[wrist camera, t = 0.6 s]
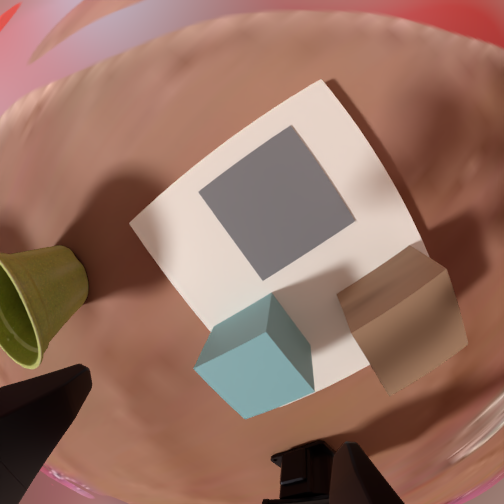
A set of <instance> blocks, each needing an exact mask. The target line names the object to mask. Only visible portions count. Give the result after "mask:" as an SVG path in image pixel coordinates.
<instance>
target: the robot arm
mask: <svg viewBox="0 0 504 504" xmlns="http://www.w3.org/2000/svg"><path fill="white" fill-rule="evenodd" d="M91 388H92V380H91V374H90V370H89V368H88V367H86V366H84V365H82V364H76V365H73V366H70V367H67V368H64V369H61V370H58V371H54V372H51V373H48V374H45V375H41V376H38V377H35V378H31V379H28V380H24V381H21V382H17V383H14V384H10V385H7V386H3V387H1V388H0V504H19V502H20V500H21V499H22V497H23V496H24V494H25V492H26V491H27V489H28V487H29V486H30V484H31V483H32V481H33V479H34V478H35V476H36V475H37V473H38V472H39V470H40V469H41V467H42V466H43V464H44V463H45V461H46V460H47V458H48V457H49V455H50V454H51V452H52V451H53V449H54V448H55V447H56V445H57V444H58V442H59V441H60V439H61V438H62V436H63V435H64V434H65V432H66V431H67V429H68V428H69V426H70V425H71V424H72V422H73V421H74V419H75V418H76V416H77V414H78V412H79V410H80V408H81V407H82V405H83V403H84V401H85V399H86V398H87V396H88V394H89V392H90V390H91ZM271 461H272V462H273V463H275V464H276V465H278V466H279V467H280V468H281V475H280V484H281V486H280V497H279V498H280V499H274V500H269V499H263V502H262V504H404V502H403V501H402V500H401V499H400V497H399V496H398V495H397V494H396V492H395V491H394V490H393V489H392V487H391V486H390V485H389V483H388V482H387V481H386V480H385V478H384V477H383V476H382V474H381V473H380V472H379V471H378V469H377V468H376V467H375V465H374V464H373V463H372V462H371V460H370V459H369V458H368V456H367V455H366V454H365V452H364V451H363V450H362V448H361V447H360V446H359V445H358V443H356V442H345V443H343V445H342V446H341V447H340V448H339V450H338V451H337V452H335V451H334V450H333V449H332V448H331V447H329V446H328V445H327V444H326V443H325V442H324V441H317V442H314V443H312V444H309V445H306V446H303V447H300V448H297V449H294V450H290V451H287V452H284V453H280V454H277V455H273V456H271Z"/></svg>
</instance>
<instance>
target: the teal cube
mask: <svg viewBox="0 0 504 504" xmlns="http://www.w3.org/2000/svg"><path fill="white" fill-rule="evenodd" d="M193 369H194V370H195V371H196V372H197V373H198V374H199V375H200V376H201V377H202V378H203V379H204V380H205V381H206V382H207V383H208V384H209V385H210V386H211V387H212V388H213V389H214V390H215V391H216V392H217V393H218V394H219V395H220V396H221V397H222V398H223V399H224V400H225V401H226V402H227V403H228V404H229V405H230V406H231V407H232V408H233V409H234V410H235V411H236V412H238V413H239V414H240V415H241V416H242V417H243V418H244V419H247V418H250V417H253V416H256V415H259V414H262V413H264V412H267V411H270V410H272V409H275V408H277V407H280V406H282V405H285V404H287V403H290V402H292V401H295V400H297V399H299V398H302V397H304V396H306V395H309V394H311V393H313V392H315V387H314V376H313V365H312V355H311V346H310V344H309V342H308V341H307V340H306V338H305V337H304V336H303V334H302V333H301V332H300V330H299V329H298V327H297V326H296V325H295V323H294V322H293V321H292V319H291V318H290V317H289V315H288V314H287V313H286V311H285V310H284V309H283V307H282V306H281V304H280V303H279V302H278V300H277V299H276V298H275V296H274V295H273V294H272V292H271V293H270V294H268V295H266V296H265V297H263V298H261V299H260V300H258V301H256V302H255V303H253V304H251V305H250V306H248V307H246V308H245V309H243V310H241V311H240V312H238V313H236V314H234V315H233V316H231V317H229V318H227V319H226V320H224V321H222V322H221V323H219V324H217V325H215V326H214V327H213V329H212V331H211V333H210V335H209V337H208V339H207V341H206V343H205V345H204V347H203V349H202V352H201V354H200V356H199V358H198V360H197V362H196V364H195V366H194V368H193Z"/></svg>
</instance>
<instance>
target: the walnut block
mask: <svg viewBox="0 0 504 504" xmlns="http://www.w3.org/2000/svg"><path fill="white" fill-rule="evenodd" d="M337 297H338V300H339V302H340V305H341V307H342V310H343V313H344V315H345V318H346V321H347V323H348V326H349V329H350V332H351V334H352V336H353V337H354V339H355V340H356V342H357V344H358V345H359V347H360V348H361V350H362V352H363V353H364V355H365V357H366V358H367V360H368V362H369V363H370V365H371V367H372V368H373V370H374V372H375V373H376V375H377V377H378V378H379V380H380V382H381V383H382V385H383V387H384V388H385V390H386V392H387V394H388V395H389V396H391V395H393V394H395V393H397V392H398V391H400V390H402V389H403V388H405V387H407V386H409V385H410V384H412V383H413V382H415V381H417V380H418V379H420V378H421V377H423V376H425V375H426V374H428V373H429V372H431V371H432V370H434V369H435V368H437V367H438V366H440V365H441V364H442V363H444V362H445V361H447V360H448V359H449V358H451V357H452V356H454V355H455V354H456V353H458V352H459V351H460V350H461V349H463V348H464V347H465V346H467V345H468V341H467V336H466V332H465V328H464V324H463V320H462V316H461V313H460V309H459V306H458V302H457V299H456V296H455V293H454V289H453V286H452V283H451V280H450V277H449V275H448V272H447V269H446V268H445V267H443V266H442V265H440V264H439V263H437V262H436V261H434V260H432V259H431V258H429V257H428V256H426V255H425V254H423V253H422V252H420V251H418V250H417V249H415V248H414V247H412V246H410V245H409V246H408V247H406V248H405V249H403V250H402V251H401V252H399V253H398V254H396V255H395V256H394V257H392V258H391V259H389V260H388V261H386V262H385V263H383V264H382V265H380V266H379V267H377V268H376V269H374V270H373V271H371V272H370V273H368V274H367V275H365V276H364V277H362V278H361V279H359V280H358V281H356V282H355V283H353V284H351V285H350V286H348V287H347V288H345V289H344V290H342V291H340V292H339V293H337Z"/></svg>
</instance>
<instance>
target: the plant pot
mask: <svg viewBox="0 0 504 504" xmlns="http://www.w3.org/2000/svg"><path fill="white" fill-rule="evenodd" d="M87 295H88V279H87V275H86V272H85V269H84V267H83V265H82V264H81V263H80V262H79V261H78V260H77V259H76V257H75V256H74V254H73V252H72V251H71V250H70V249H69V248H67V247H64V246H61V245H57V246H52V247H46V248H41V249H36V250H30V251H24V252H19V253H13V254H6V253H0V347H1V348H2V349H3V350H4V351H5V352H6V353H7V355H8V356H9V357H10V358H11V359H12V360H13V361H15V362H16V363H17V364H19V365H21V366H22V367H24V368H28V369H35V368H37V367H38V366H39V365H40V364H41V362H42V359H43V353H44V352H45V351H46V349H47V348H48V345H49V342H50V341H51V340H52V338H53V337H54V336H55V335H56V333H57V332H58V331H59V330H60V329H61V328H62V326H63V325H64V324H65V323H66V322H67V321H68V320H69V319H70V317H71V316H72V315H73V314H74V313H75V312H76V311H77V310H78V309H79V308H80V307H81V306H82V305H83V303H84V302H85V300H86V298H87Z"/></svg>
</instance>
